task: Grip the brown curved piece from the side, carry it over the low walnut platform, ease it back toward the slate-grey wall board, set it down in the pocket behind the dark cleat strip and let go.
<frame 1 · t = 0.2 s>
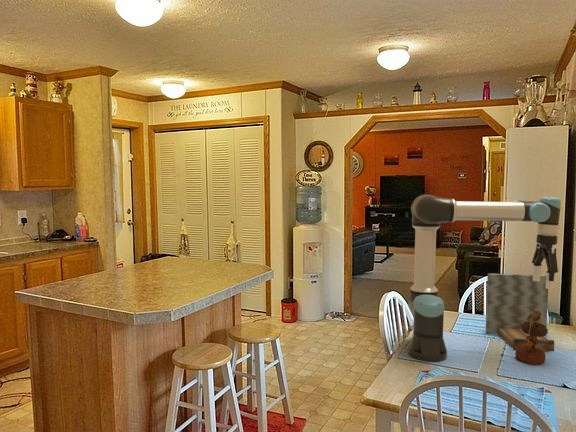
hand: (542, 284, 196), 27 cm above the table, tool pointing down, fingers open, 13 cm apart
brown curved piece: (530, 359, 186), on the table
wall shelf: (524, 342, 206), on the table
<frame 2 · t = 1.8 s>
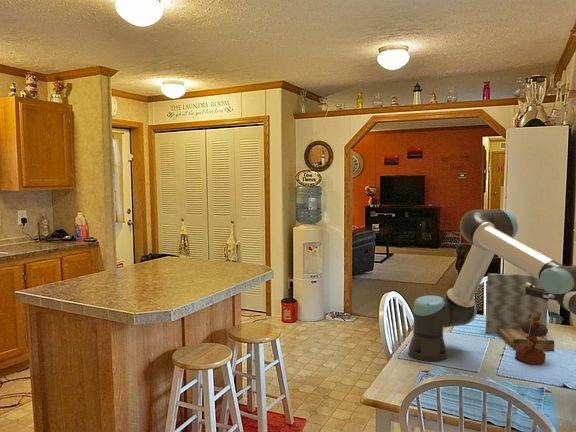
hand: (545, 286, 173), 32 cm above the table, tool horizontal, fingers open, 13 cm apart
nothing on the table moved.
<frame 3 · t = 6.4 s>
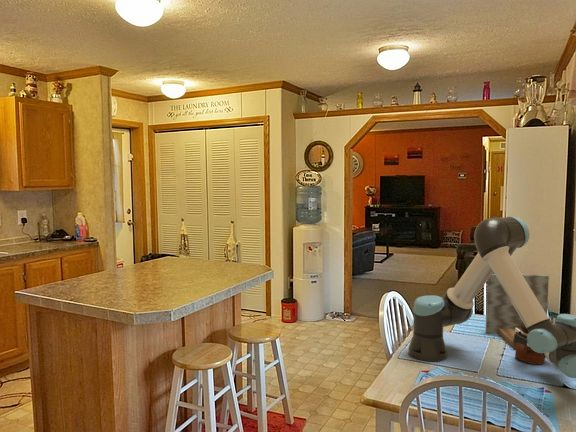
hand: (529, 331, 188), 11 cm above the table, tool horizontal, fingers open, 10 cm apart
brown curved piece: (530, 359, 186), on the table, touching gripper
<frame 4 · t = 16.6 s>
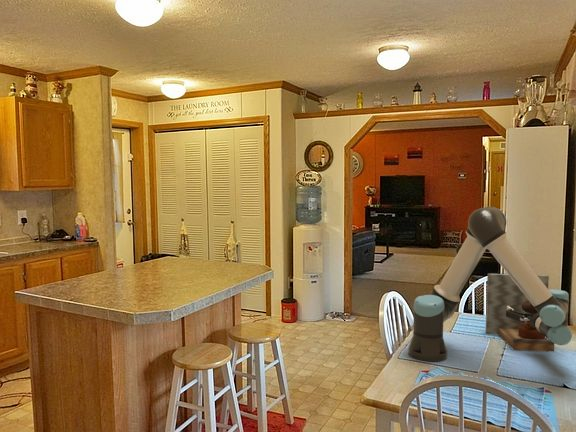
hand: (523, 309, 207), 14 cm above the table, tool horizontal, fingers open, 13 cm apart
brown curved piece: (532, 335, 205), point 3 cm above the table, touching gripper, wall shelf
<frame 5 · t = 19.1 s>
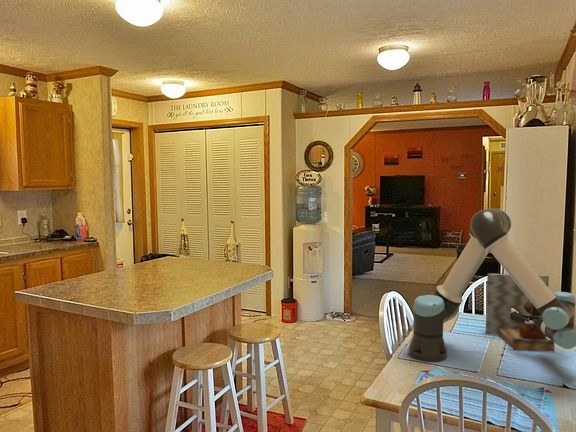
hand: (528, 311, 203), 14 cm above the table, tool horizontal, fingers open, 13 cm apart
brown curved piece: (533, 334, 204), point 4 cm above the table, touching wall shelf
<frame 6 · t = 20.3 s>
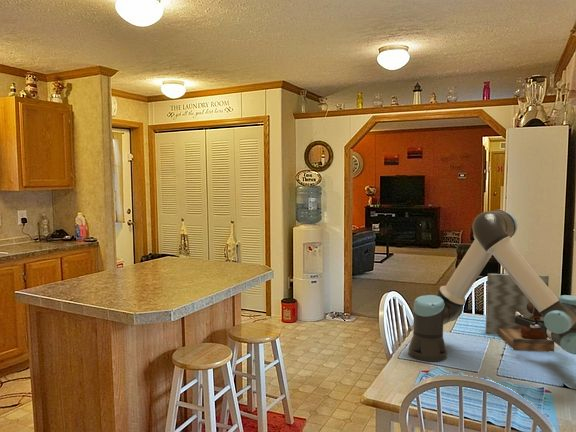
hand: (533, 315, 198), 14 cm above the table, tool horizontal, fingers open, 13 cm apart
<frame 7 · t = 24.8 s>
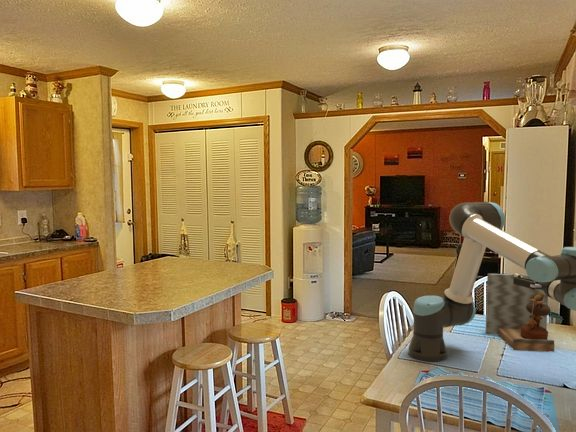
hand: (533, 277, 179), 34 cm above the table, tool horizontal, fingers open, 13 cm apart
brown curved piece: (534, 337, 204), point 3 cm above the table, touching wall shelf
at the end: brown curved piece inside the target area on the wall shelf (4.3 cm from its centre), point 2.9 cm above the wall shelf's base; brown curved piece tilted 1°; the gripper is holding nothing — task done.
